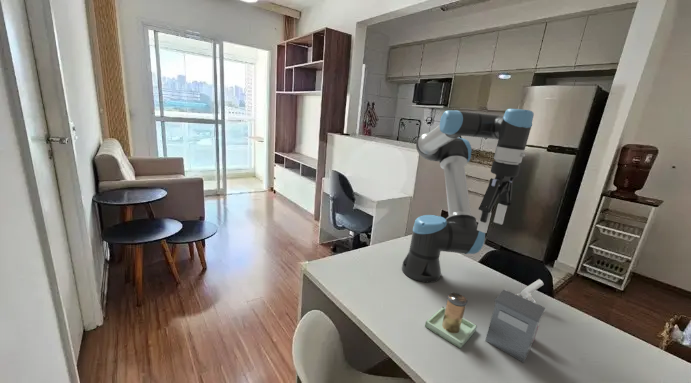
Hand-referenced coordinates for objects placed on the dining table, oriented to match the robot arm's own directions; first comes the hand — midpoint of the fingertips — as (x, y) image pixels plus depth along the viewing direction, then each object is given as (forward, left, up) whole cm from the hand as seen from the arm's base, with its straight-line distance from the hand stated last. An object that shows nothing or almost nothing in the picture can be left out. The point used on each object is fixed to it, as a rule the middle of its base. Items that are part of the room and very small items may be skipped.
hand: (490, 227), depth 95 cm
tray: (+1, -19, -28) cm, 34 cm away
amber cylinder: (+1, -19, -28) cm, 33 cm away
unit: (+15, -12, -28) cm, 34 cm away
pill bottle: (+18, -4, -29) cm, 34 cm away
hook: (+13, +17, -29) cm, 35 cm away
